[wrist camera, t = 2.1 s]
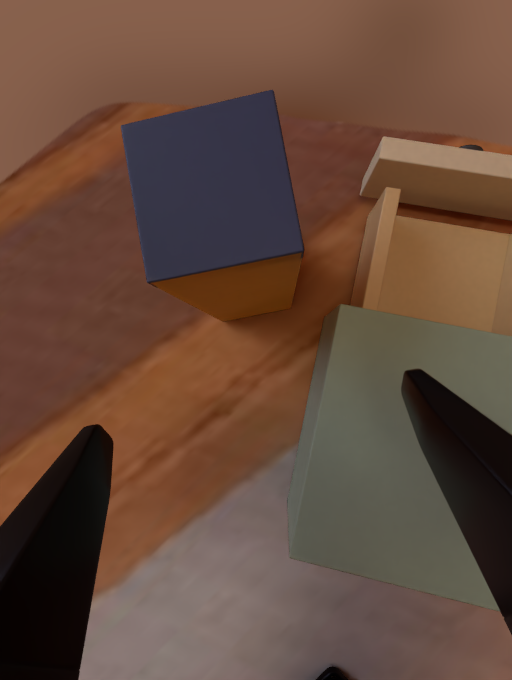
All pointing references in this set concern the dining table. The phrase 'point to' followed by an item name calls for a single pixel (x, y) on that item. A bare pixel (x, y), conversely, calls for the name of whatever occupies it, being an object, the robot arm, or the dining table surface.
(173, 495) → the dining table surface
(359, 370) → the cabinet
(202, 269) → the carton
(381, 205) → the drawer
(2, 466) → the dining table surface
